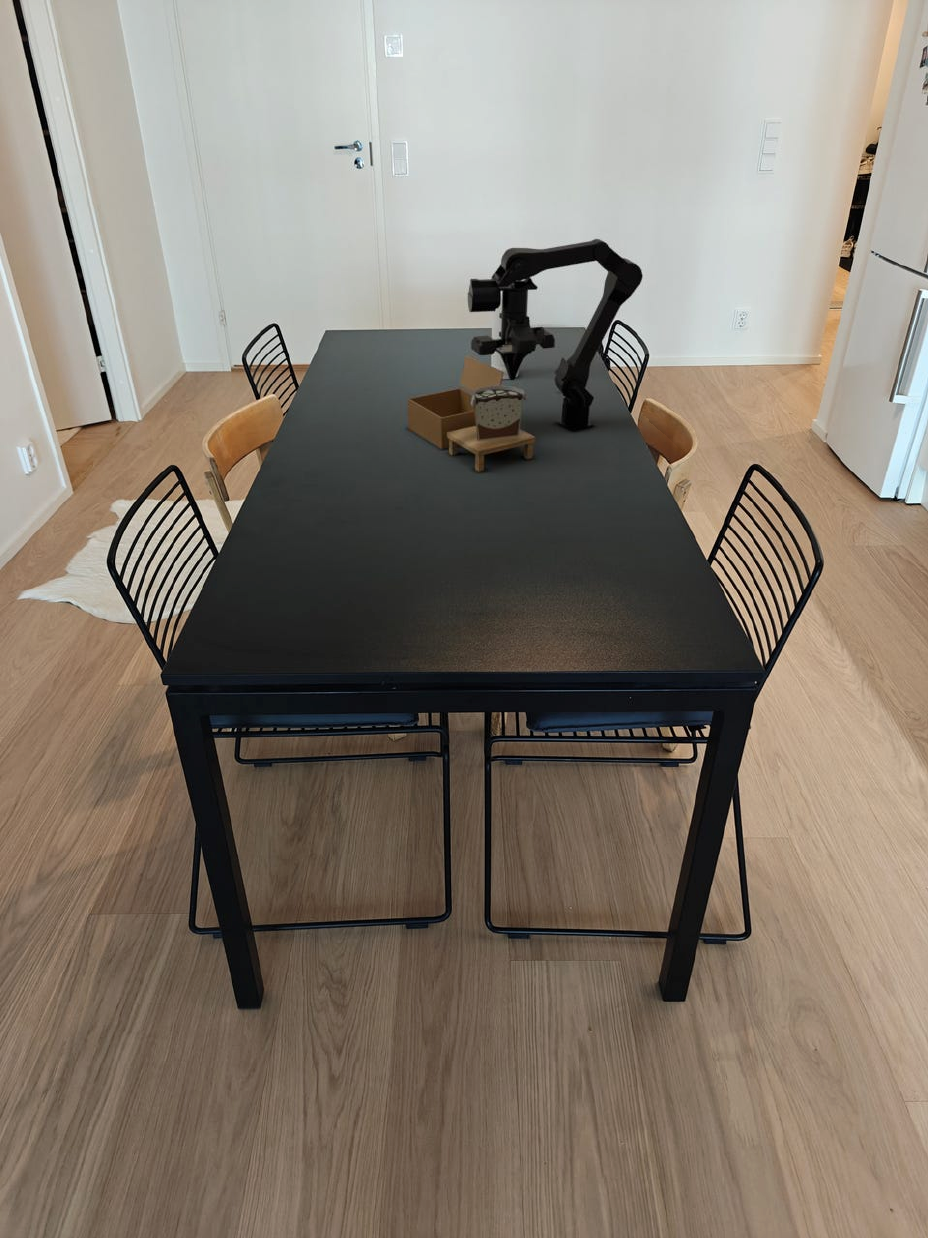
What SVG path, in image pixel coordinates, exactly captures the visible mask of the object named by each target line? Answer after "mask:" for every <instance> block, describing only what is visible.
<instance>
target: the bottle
mask: <svg viewBox="0 0 928 1238" xmlns="http://www.w3.org/2000/svg"><path fill="white" fill-rule="evenodd" d="M500 313H502V291H501V304H500V306H499V308H496V310H495V311H491V338H492V339H494V340H495V339H501V337H499V332H501V318H499V314H500ZM490 355H491V356H490V358H491V359H490V366H492V367H494V368H496V369H498V370H500V371H503V372H504V374H503V378H502V380H510V379H509V376H508V373H507V370H506V367H505V364H504V362H503V360H502V358H501V356H500V354H499V353H497V352H496V351H495V353H494V354H490ZM519 374H520V369H519V370H518V372H517V375H516V377H515V379H516V378H518V377H519Z"/></svg>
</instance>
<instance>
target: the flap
mask: <svg viewBox="0 0 928 1238" xmlns="http://www.w3.org/2000/svg"><path fill="white" fill-rule="evenodd" d="M503 374H504V372H503V371H500V370H498V369H496V368H494V367H492V366H491V365H489V364H487V363H485V362H483V361H481V360H478V359H476V358H474V357H472V356H469V355H467V354H466V355H465V359H464V363H463V368H462V374H461V376H460V381H459V386H460V387H462V388H464V389H466V390H468V391H470V392H472V393H474V392H475V391H476V390H477V389H480V388H483V387H487V386H502V383H503V379H502V378H503Z"/></svg>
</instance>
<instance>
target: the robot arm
mask: <svg viewBox="0 0 928 1238" xmlns="http://www.w3.org/2000/svg"><path fill="white" fill-rule="evenodd" d="M592 262H597V264H599V265H600V266H601V267H602V268H603V269H604V270H606V272H607V274H606V278H605V280H604V287H603V294H602V297H601V299H600V301H599V303H598V305H597V307H596V309H595V311H594V312H593V315H592V316H591V319H590V321H589V323H588V324H587V327H586V329H585V331H584V333H583V335H582V337H581V338H580V341H579V343H578V345H577V347H576V349H575V350H574V352H573V354H572V355H571V356H570V357H568V358H567V359H566V358H565V357H561V359H560V362H559V365H558V367H557V369H555V370H554V372H553V373H554V374H555V376H554V383H555V386H556V388H557V389H558V390H559V391H560V393H561V394H562V396H563V399H562V406H561V407H562V408H561V420H557V421H556V424H557V425H559V426H560V427H563V428H565V429H567V430H569V431H571V432H575V431H580V430H584V429H587V428H588V429H589V428H592V427H593V426H594V424H593V423H592V422H590V421H589V419H590V406H592V405H593V404H592V403H593V401H594V400H595V399H594V398H595V397H594V395H592V394H591V392H590V391H589V390H588V389H587V388H586V386H587V384H588V382H589V378H590V371H591V364H592V363H593V360H594V358H595V357H596V355H597V352H598V350H600V347H601V344H602V342H603V341H604V338H605V337H606V335H607V333H608V331H609V330H610V327H611V325H612V324H613V322H614V319H615V317H616V316H617V314H618V312H619V310H620V308H621V307H622V305H623V304H624V303H625V302H626V301H628V300H629V299H630V298H631V297H632V296H633V294H634V293H635V291H637V289H638V288H639V286H640V285H641V283H642V281H643V277H644V276H643V272H642V269H641V267H640V266H639V265H638V264H637V263H635V262H633V261H632V260H630V259H628V258H625V257H622V256H620V255H619V254H618V253H617V252H615V250H613V249H612V247H610V245H609V244H608V243H607V242H605V241H604V240H602V239H601V238H593V239H592V240H589V241H583V242H577V243H571V244H566V245H560V246H559V245H558V246H554V247H553V246H552V247H548V248H530V247H511V248H508V249H506V250H505V251H504V253H503V254H502V256H501V258H500V264H499V266H498V267H497V268H496V270H495V271H494V273H493V274H492V275H491V277H490V278H489V279H488V278H486V279H485V278H483V279H479V278H471V279H469V286H468V292H467V308H468V311H469V313H483V312H486V313H487V312H492V311H495V310H496V308H499V306H500V304H501V291H502V313H500V314H499V318H501V332H499V337H501V339H495V340H494V339H492V336H489V335H479V336H473V338H472V339H471V341H470V349H471V350H472V351H473V352H475V353H476V354H477V355H479V356H488V355H491V354H494V353H495V351H496V352H497V353H499V354H500V356H501V358H502V360H503V362H504V364H505V367H506V370H507V373H508V376H509V379H508V380H510V381H515V380H516V378H517V377H516V375H517V372H518V370H519V371H520V367H521V364H522V363H523V361H524V359H525V357H527V355H531V354H532V353H533V352H535V351H536V349H537V345H539V346H540V347H541V348H542V349H543V350H545V349H546V350H547V349H554V348H556V347H555V346H556V337H555V335H554V334H552V333H551V332H549V331H548V330H545V328H544V327H543V326H536V327H531V324H530V323H531V321H530V316H528V304H529V303H528V302H529V300H528V299H529V291H534V290H535V291H537V290H538V286H537V285H536V284H535V283H534V281H533V279H532V277H535V276H536V275H538V274H540V273H542V272H544V271H546V270H552V269H557V268H564V267H569V266H574V265H581V264H585V263H592ZM515 377H516V378H515Z"/></svg>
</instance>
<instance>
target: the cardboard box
mask: <svg viewBox="0 0 928 1238" xmlns="http://www.w3.org/2000/svg"><path fill="white" fill-rule="evenodd" d="M472 395H473V394H472V393H471V392H468V391H467V390H465V389H463V388H461V387H457V388H454V389H448V390H444V391H439V392H433V393H429V394H423V395H418V396H414V397H409V398H407V400H406V401H407V403H406V404H407V427H408V429H409V430H410V431H411V432H414V433H415V434H416V435H418V436H420V437H421V438H423V439H424V440H426V441H428V442H429V443H431V444H432V445H434V446H435V447H437V448H439V449H440V450H445V449H449V438H447V432H451V431H455V430H460V429H464V428H468V427H473V426H476V420H475V410H474V402H473V406H472V405H471V400H472ZM459 446H460V445H459V444H457V447H459Z"/></svg>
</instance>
